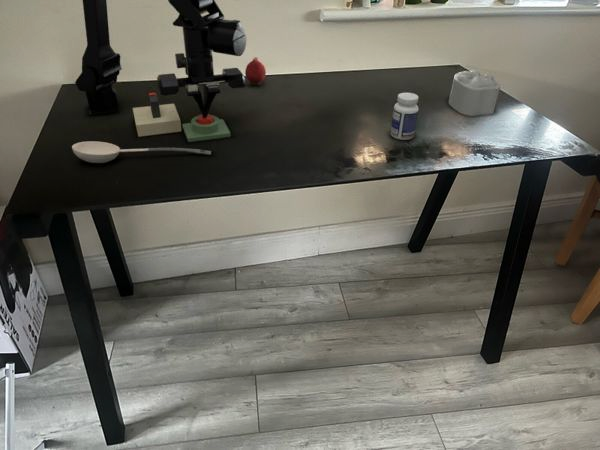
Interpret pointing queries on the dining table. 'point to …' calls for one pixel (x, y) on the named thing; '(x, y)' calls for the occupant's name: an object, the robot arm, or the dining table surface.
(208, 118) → the button
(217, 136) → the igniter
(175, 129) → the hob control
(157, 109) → the hob knob
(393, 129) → the pill bottle
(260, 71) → the onion
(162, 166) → the dining table surface
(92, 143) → the ladle
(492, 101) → the lumpy-topped squat cylinder
